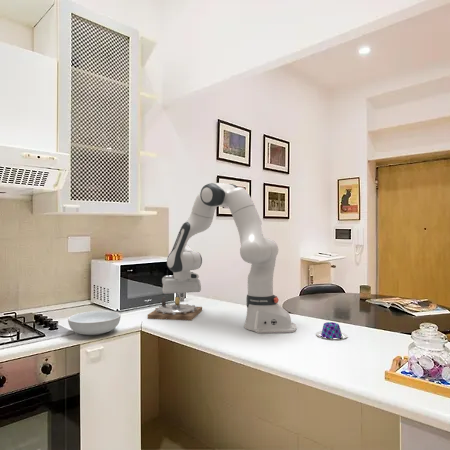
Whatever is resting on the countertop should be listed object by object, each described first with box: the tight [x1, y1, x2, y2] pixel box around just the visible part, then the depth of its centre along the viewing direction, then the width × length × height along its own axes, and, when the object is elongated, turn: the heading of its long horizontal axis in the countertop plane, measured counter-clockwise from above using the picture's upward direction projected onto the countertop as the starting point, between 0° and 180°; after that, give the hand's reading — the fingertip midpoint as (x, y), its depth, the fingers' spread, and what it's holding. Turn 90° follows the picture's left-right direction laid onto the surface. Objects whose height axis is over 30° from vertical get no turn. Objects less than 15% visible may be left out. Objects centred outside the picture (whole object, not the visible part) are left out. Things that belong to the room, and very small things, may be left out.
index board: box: [147, 296, 203, 321], centre depth 187 cm, size 22×22×7 cm
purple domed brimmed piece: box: [315, 321, 348, 340], centre depth 147 cm, size 12×12×5 cm
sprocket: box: [155, 296, 198, 315], centre depth 187 cm, size 21×21×5 cm
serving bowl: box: [67, 310, 121, 336], centre depth 154 cm, size 21×21×7 cm
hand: (181, 301), depth 195 cm, fingers closed
